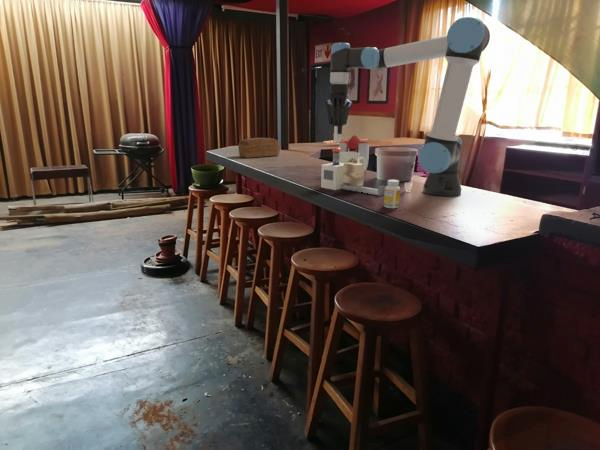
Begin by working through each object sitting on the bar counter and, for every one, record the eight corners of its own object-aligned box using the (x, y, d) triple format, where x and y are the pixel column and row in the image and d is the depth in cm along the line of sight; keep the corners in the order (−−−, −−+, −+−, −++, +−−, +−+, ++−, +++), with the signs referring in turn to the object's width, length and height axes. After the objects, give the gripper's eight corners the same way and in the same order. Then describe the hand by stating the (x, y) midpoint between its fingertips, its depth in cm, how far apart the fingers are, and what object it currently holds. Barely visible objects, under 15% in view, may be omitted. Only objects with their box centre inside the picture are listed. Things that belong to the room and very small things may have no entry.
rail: (384, 194, 176) (384, 186, 175) (379, 196, 173) (379, 187, 172) (345, 187, 189) (345, 179, 188) (340, 189, 186) (340, 180, 185)
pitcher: (371, 181, 204) (373, 152, 200) (337, 184, 197) (338, 153, 193) (360, 177, 213) (361, 149, 210) (327, 180, 207) (328, 151, 203)
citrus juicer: (335, 176, 215) (336, 136, 210) (340, 171, 232) (341, 133, 226) (366, 178, 212) (368, 136, 206) (369, 172, 228) (371, 134, 222)
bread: (235, 156, 288) (235, 138, 284) (271, 154, 304) (271, 136, 300) (245, 159, 277) (245, 139, 274) (282, 156, 293) (282, 137, 289)
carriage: (363, 185, 183) (364, 164, 180) (356, 186, 179) (357, 165, 177) (350, 183, 187) (350, 162, 185) (342, 184, 184) (343, 163, 181)
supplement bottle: (386, 208, 153) (387, 182, 151) (382, 205, 158) (383, 179, 156) (401, 208, 154) (403, 181, 151) (396, 204, 159) (398, 179, 156)
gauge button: (341, 164, 187) (342, 148, 185) (336, 165, 185) (337, 148, 183) (335, 164, 190) (335, 147, 188) (330, 164, 187) (330, 148, 185)
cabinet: (349, 186, 191) (350, 164, 188) (335, 190, 184) (335, 166, 181) (335, 184, 196) (335, 162, 193) (320, 187, 189) (321, 164, 186)
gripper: (357, 83, 176) (354, 142, 183) (332, 84, 184) (330, 140, 191) (346, 83, 171) (343, 143, 177) (321, 83, 179) (319, 141, 186)
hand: (336, 141), depth 184 cm, fingers closed
